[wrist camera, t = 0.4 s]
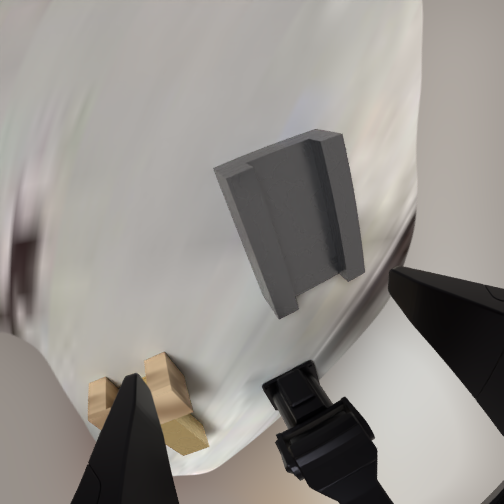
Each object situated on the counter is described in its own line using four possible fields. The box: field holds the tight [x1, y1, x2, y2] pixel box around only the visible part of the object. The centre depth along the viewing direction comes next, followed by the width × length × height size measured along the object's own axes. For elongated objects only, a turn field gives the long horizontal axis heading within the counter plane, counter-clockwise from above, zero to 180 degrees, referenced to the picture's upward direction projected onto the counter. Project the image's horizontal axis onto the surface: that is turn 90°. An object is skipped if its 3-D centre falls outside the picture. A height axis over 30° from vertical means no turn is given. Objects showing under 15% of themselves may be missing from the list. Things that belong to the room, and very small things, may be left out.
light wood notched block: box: [88, 352, 193, 430], centre depth 24 cm, size 4×9×5 cm, turn 108°
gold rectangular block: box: [142, 376, 209, 456], centre depth 28 cm, size 12×4×4 cm, turn 19°
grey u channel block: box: [213, 129, 365, 319], centre depth 23 cm, size 12×8×4 cm
